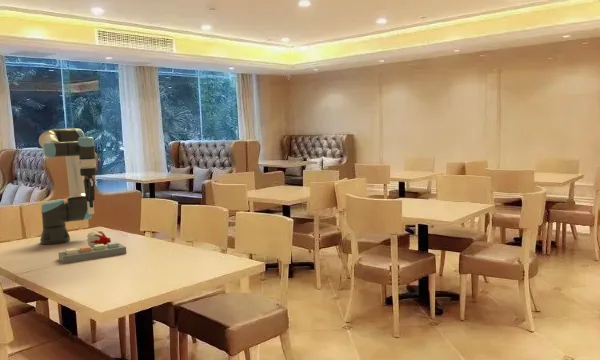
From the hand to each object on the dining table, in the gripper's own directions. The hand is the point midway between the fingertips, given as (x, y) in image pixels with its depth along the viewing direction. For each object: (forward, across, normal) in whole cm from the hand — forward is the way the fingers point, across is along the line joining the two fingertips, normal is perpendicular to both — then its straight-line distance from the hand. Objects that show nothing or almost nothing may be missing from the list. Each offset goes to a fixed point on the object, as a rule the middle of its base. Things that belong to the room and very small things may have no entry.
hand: (91, 213), depth 259 cm
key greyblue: (+17, +12, +6) cm, 22 cm away
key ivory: (+17, +12, -13) cm, 25 cm away
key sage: (+17, +12, 0) cm, 21 cm away
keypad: (+19, +12, -3) cm, 23 cm away
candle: (+20, -7, +4) cm, 21 cm away
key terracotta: (+17, +12, -6) cm, 22 cm away
